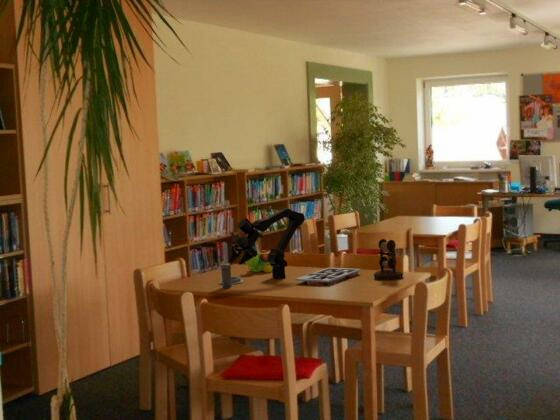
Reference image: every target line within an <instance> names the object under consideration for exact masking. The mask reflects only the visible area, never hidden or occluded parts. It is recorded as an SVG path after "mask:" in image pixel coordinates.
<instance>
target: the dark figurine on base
mask: <svg viewBox="0 0 560 420" xmlns="http://www.w3.org/2000/svg"><path fill="white" fill-rule="evenodd" d="M378 248H379V253H378V254H379V255H380V258H379V266H380V270H377V271H375V272H374V273H373V277H374V279H377V278H383V279H386V281H389V278H399V277H400V278H401V279H402V278H403V275H404V272H403V271H401V270H399V269H397V268H396V267H397V256H396V250H395V249H396V242H395V240H393V239H389V240H388V241H387V240H386V239H385V238H381V239H380V240H379V241H378ZM386 256H387V257H386Z"/></svg>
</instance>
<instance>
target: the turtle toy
mask: <svg viewBox="0 0 560 420" xmlns="http://www.w3.org/2000/svg"><path fill="white" fill-rule="evenodd" d="M269 252H270V251H268V250H265V249H264V250H263V249H262V250H259V252H257V256H256V257H254V258H252V259H250V260H248V261H246V262H244V263H245V264H246V265H247V270H248V271H250V272H264V273H267V274H269V273H272V269H273V266H271V265H270V263H269V261H268V254H269Z"/></svg>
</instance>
